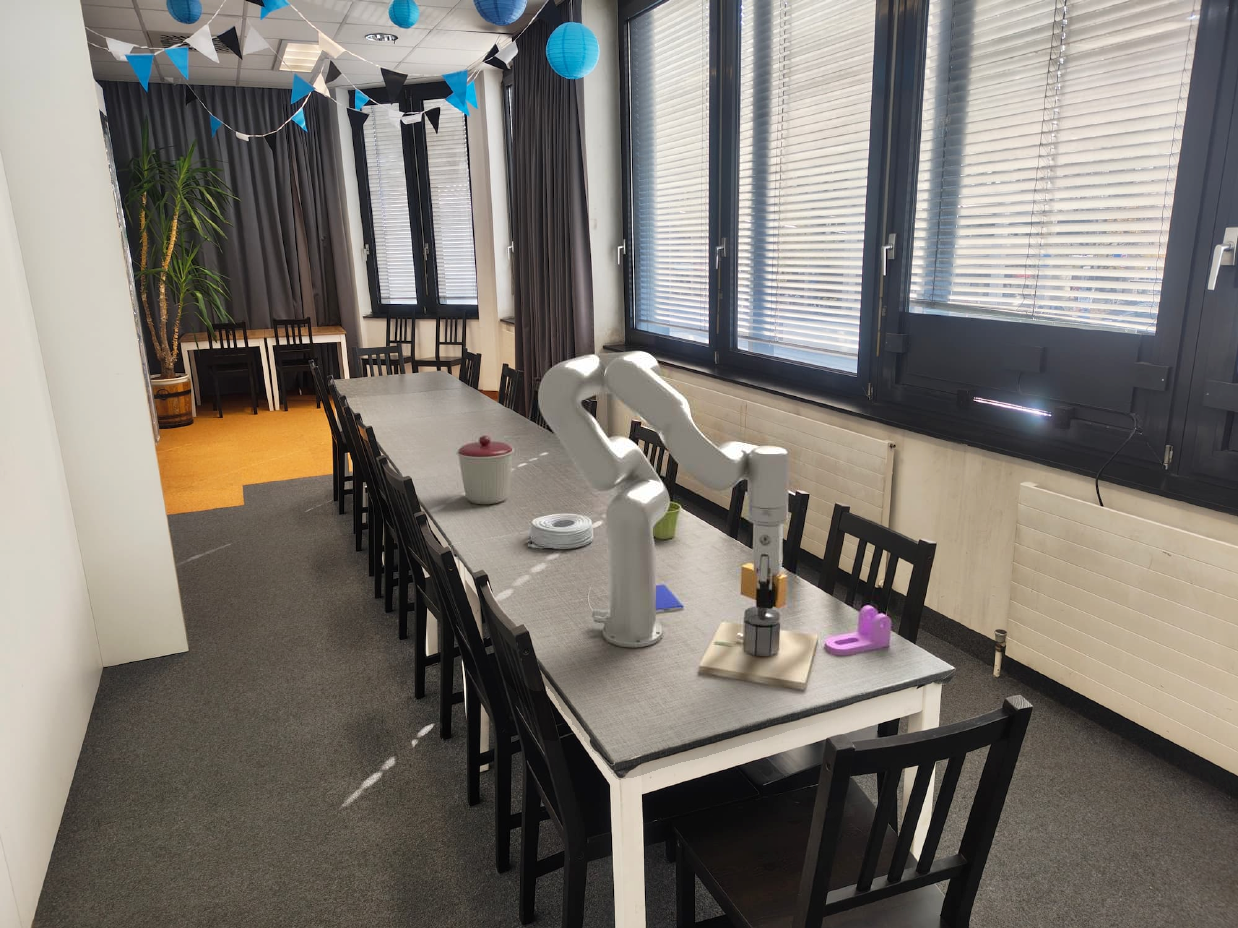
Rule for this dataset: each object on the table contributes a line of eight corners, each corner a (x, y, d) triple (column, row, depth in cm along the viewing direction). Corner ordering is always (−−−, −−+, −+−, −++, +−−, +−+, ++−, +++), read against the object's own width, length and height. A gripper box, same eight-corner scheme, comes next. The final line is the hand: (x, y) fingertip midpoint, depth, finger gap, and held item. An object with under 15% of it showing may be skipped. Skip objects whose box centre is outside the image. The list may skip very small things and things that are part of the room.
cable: (521, 549, 224) (520, 527, 222) (542, 528, 240) (541, 508, 238) (583, 554, 219) (583, 532, 218) (600, 532, 236) (600, 512, 234)
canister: (455, 494, 271) (452, 431, 266) (510, 489, 276) (508, 428, 271) (462, 511, 254) (458, 444, 249) (520, 505, 260) (518, 440, 254)
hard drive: (632, 588, 195) (649, 609, 183) (665, 583, 197) (683, 605, 186) (632, 594, 195) (649, 616, 184) (665, 590, 198) (683, 611, 186)
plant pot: (681, 530, 236) (681, 501, 234) (680, 542, 227) (680, 512, 225) (648, 529, 237) (648, 500, 235) (646, 541, 228) (646, 511, 226)
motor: (768, 661, 158) (772, 582, 154) (726, 643, 166) (729, 567, 161) (789, 649, 163) (793, 572, 159) (748, 632, 170) (751, 558, 166)
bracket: (872, 634, 174) (874, 604, 172) (889, 646, 169) (891, 614, 167) (819, 645, 169) (821, 613, 167) (835, 657, 164) (837, 625, 162)
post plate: (698, 672, 158) (699, 634, 156) (721, 627, 177) (722, 593, 175) (804, 690, 152) (807, 650, 150) (817, 642, 170) (819, 606, 168)
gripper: (785, 527, 147) (782, 621, 152) (790, 499, 163) (788, 586, 168) (742, 525, 149) (741, 618, 154) (752, 498, 165) (750, 583, 170)
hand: (765, 600), depth 161 cm, fingers closed on motor, 4 cm apart
